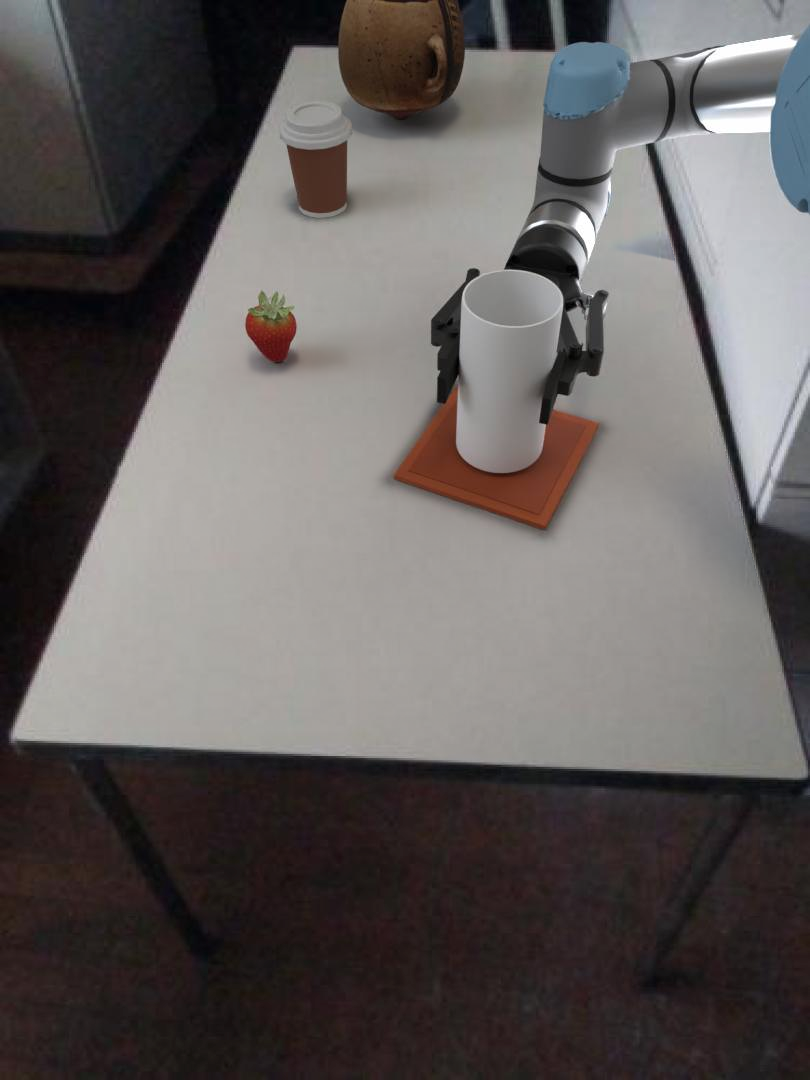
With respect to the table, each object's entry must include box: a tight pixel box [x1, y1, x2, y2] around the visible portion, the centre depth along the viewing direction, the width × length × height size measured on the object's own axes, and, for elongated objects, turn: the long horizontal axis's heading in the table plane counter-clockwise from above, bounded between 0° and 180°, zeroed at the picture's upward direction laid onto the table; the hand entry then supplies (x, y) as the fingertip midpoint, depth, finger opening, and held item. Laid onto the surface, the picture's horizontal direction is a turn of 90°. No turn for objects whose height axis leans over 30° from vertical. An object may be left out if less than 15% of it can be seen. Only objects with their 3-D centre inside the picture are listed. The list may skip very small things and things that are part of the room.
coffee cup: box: [278, 100, 353, 219], centre depth 109 cm, size 9×9×12 cm
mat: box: [393, 383, 600, 531], centre depth 82 cm, size 15×15×1 cm
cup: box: [456, 269, 563, 473], centre depth 75 cm, size 8×8×16 cm
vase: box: [337, 0, 466, 122], centre depth 119 cm, size 21×18×30 cm
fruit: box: [244, 290, 297, 363], centre depth 89 cm, size 5×5×8 cm
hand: (492, 401), depth 71 cm, fingers closed on cup, 8 cm apart
